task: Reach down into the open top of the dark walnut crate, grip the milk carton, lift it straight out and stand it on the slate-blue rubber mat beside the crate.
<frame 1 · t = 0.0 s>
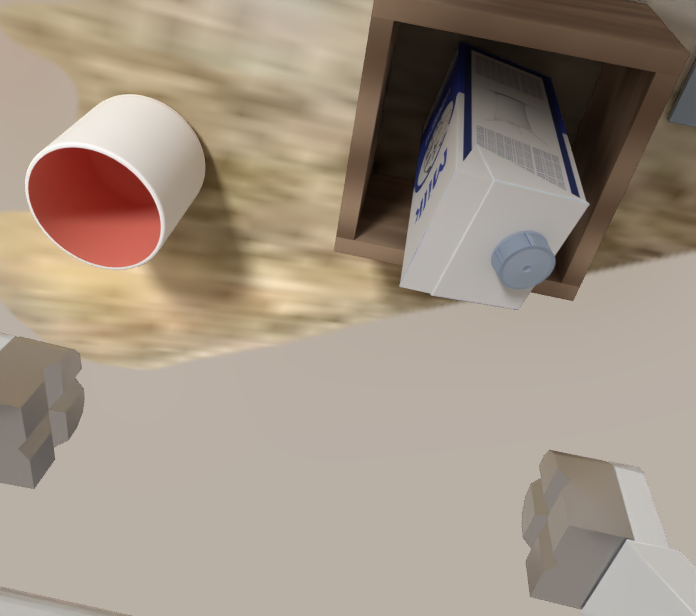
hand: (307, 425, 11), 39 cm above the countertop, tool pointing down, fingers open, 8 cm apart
crate: (484, 104, 46), on the countertop
milk carton: (484, 103, 46), resting in crate
cup: (151, 148, 53), on the countertop
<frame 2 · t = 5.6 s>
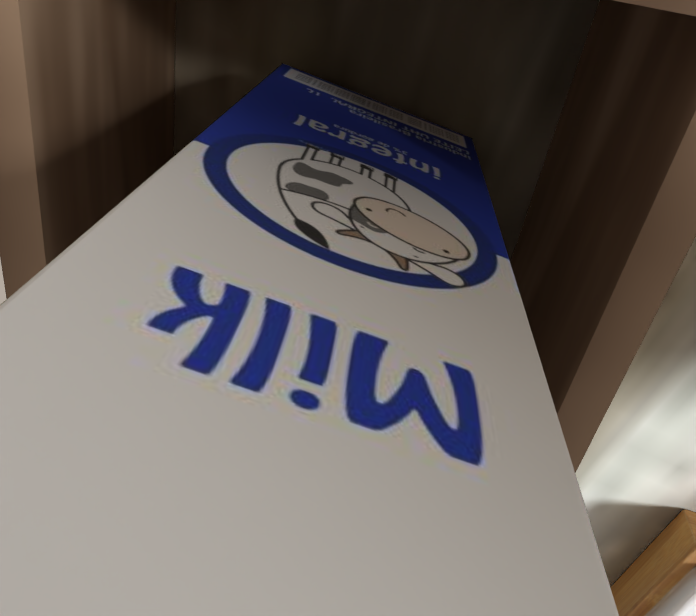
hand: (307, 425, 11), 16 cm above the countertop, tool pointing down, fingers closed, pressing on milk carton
crate: (356, 143, 24), on the countertop
milk carton: (345, 190, 23), point 2 cm above the countertop, touching gripper
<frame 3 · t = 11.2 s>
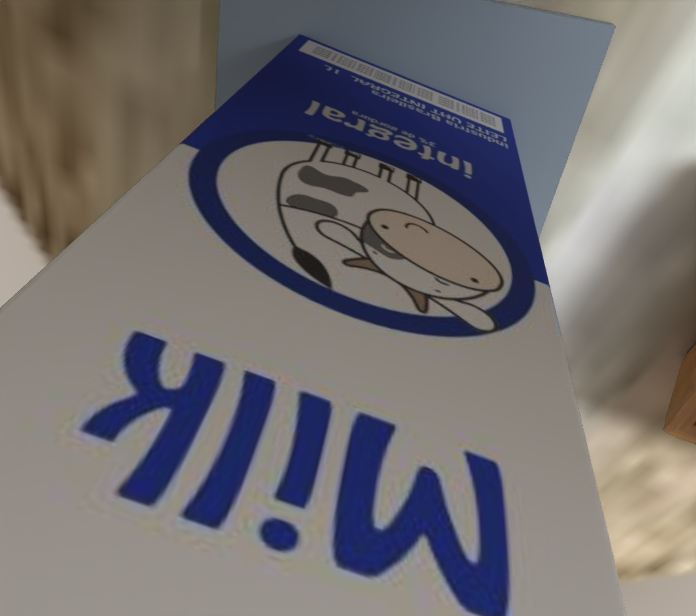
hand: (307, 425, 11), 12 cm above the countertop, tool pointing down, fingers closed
mat: (381, 169, 21), on the countertop
milk carton: (367, 174, 21), resting on mat
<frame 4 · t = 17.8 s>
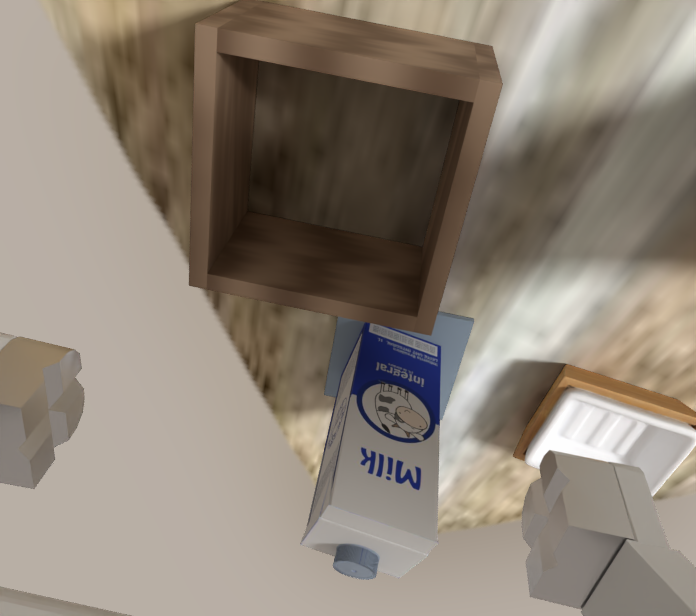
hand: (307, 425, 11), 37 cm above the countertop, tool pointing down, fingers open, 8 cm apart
mat: (395, 357, 56), on the countertop
soap dish: (598, 409, 57), on the countertop
crate: (348, 142, 47), on the countertop
milk carton: (389, 359, 56), resting on mat
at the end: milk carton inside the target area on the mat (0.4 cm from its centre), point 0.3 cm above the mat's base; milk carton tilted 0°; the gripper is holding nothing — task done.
